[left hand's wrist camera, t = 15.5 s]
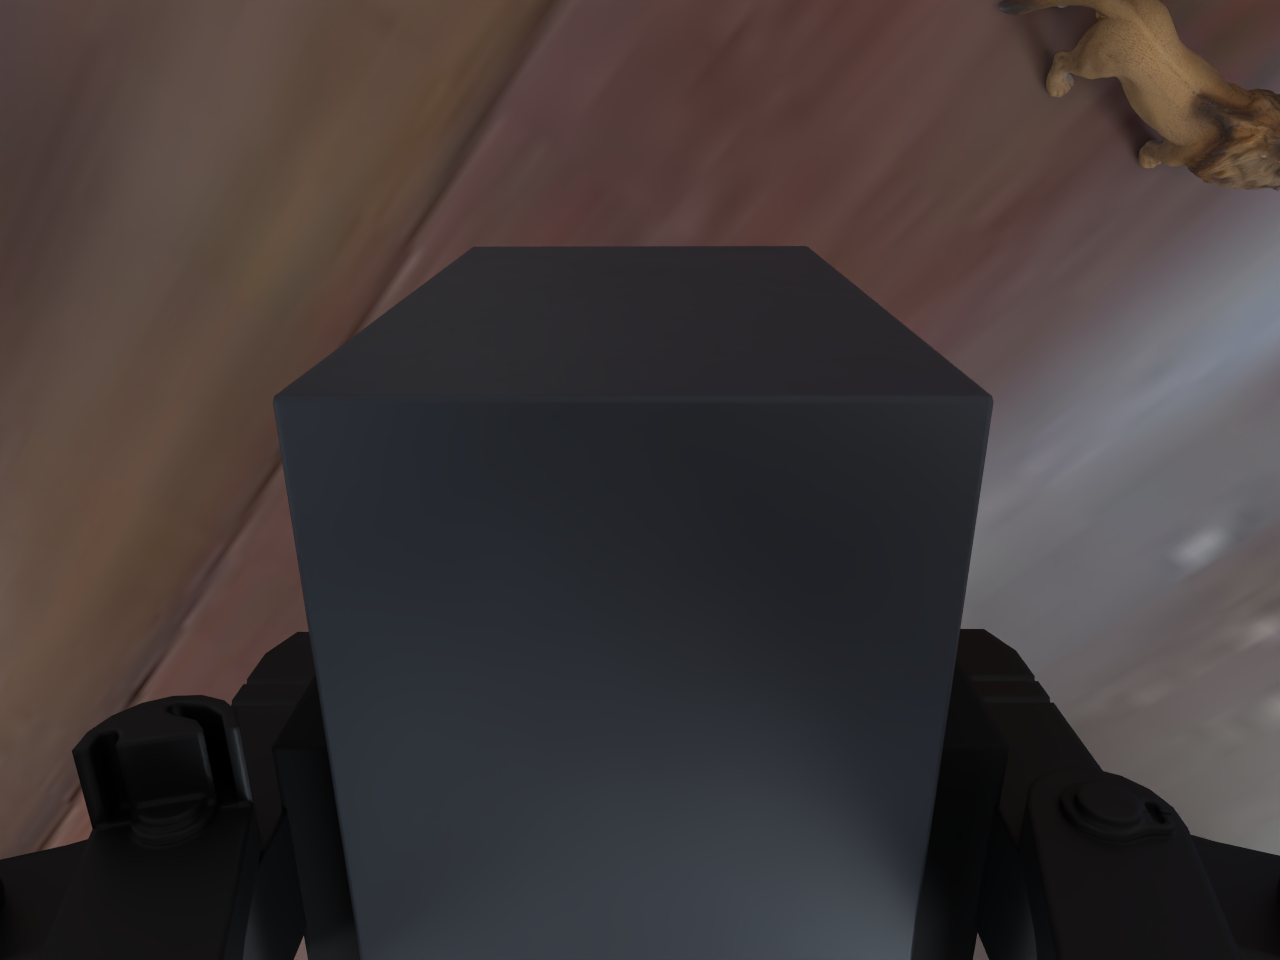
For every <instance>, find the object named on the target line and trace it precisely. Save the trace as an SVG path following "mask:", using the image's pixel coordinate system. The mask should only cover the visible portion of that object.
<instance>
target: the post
mask: <svg viewBox="0 0 1280 960" xmlns="http://www.w3.org/2000/svg"><path fill="white" fill-rule="evenodd" d="M273 405H274V412H275V418H276V425H277V431H278V437H279V444H280V450H281V456H282V463H283V469H284V476H285V482H286V488H287V495H288V501H289V507H290V514H291V520H292V527H293V533H294V539H295V546H296V552H297V558H298V565H299V571H300V578H301V584H302V590H303V597H304V603H305V609H306V616H307V622H308V629H309V635H310V641H311V648H312V654H313V661H314V667H315V673H316V680H317V686H318V692H319V699H320V705H321V712H322V718H323V724H324V731H325V737H326V743H327V750H328V756H329V763H330V769H331V775H332V782H333V788H334V794H335V801H336V807H337V814H338V820H339V826H340V833H341V839H342V845H343V852H344V858H345V865H346V871H347V877H348V884H349V890H350V896H351V903H352V909H353V916H354V922H355V928H356V935H357V941H358V947H359V954H360V960H912V955H913V948H914V941H915V934H916V927H917V920H918V914H919V907H920V900H921V893H922V886H923V879H924V873H925V866H926V859H927V852H928V845H929V838H930V832H931V825H932V818H933V811H934V804H935V797H936V791H937V784H938V777H939V770H940V763H941V756H942V750H943V743H944V736H945V729H946V722H947V715H948V709H949V702H950V695H951V688H952V681H953V674H954V668H955V661H956V654H957V647H958V640H959V633H960V627H961V620H962V613H963V606H964V599H965V592H966V586H967V579H968V572H969V565H970V558H971V551H972V545H973V538H974V531H975V524H976V517H977V510H978V504H979V497H980V490H981V483H982V476H983V469H984V463H985V456H986V449H987V442H988V435H989V428H990V422H991V415H992V408H993V398H992V396H991V395H990V394H989V393H987V392H986V391H985V390H984V389H982V388H981V387H980V386H979V385H978V384H976V383H975V382H974V381H973V380H971V379H970V378H969V377H968V376H966V375H965V374H964V373H963V372H962V371H960V370H959V369H958V368H957V367H955V366H954V365H953V364H952V363H950V362H949V361H948V360H947V359H945V358H944V357H943V356H942V355H941V354H939V353H938V352H937V351H936V350H934V349H933V348H932V347H931V346H929V345H928V344H927V343H926V342H925V341H923V340H922V339H921V338H920V337H918V336H917V335H916V334H915V333H913V332H912V331H911V330H910V329H908V328H907V327H906V326H905V325H904V324H902V323H901V322H900V321H899V320H897V319H896V318H895V317H894V316H892V315H891V314H890V313H889V312H888V311H886V310H885V309H884V308H883V307H881V306H880V305H879V304H878V303H876V302H875V301H874V300H873V299H871V298H870V297H869V296H868V295H867V294H865V293H864V292H863V291H862V290H860V289H859V288H858V287H857V286H855V285H854V284H853V283H852V282H851V281H849V280H848V279H847V278H846V277H844V276H843V275H842V274H841V273H839V272H838V271H837V270H836V269H834V268H833V267H832V266H831V265H830V264H828V263H827V262H826V261H825V260H823V259H822V258H821V257H820V256H818V255H817V254H816V253H815V252H814V251H812V250H811V249H810V248H809V247H806V246H688V247H473V248H471V249H470V250H469V251H467V252H466V253H465V254H463V255H462V256H461V257H459V258H458V259H457V260H455V261H454V262H453V263H451V264H450V265H449V266H447V267H446V268H445V269H443V270H442V271H441V272H439V273H438V274H437V275H435V276H434V277H433V278H431V279H430V280H429V281H427V282H426V283H425V284H423V285H422V286H421V287H419V288H418V289H417V290H415V291H414V292H413V293H411V294H410V295H409V296H407V297H406V298H405V299H403V300H402V301H401V302H399V303H398V304H397V305H395V306H394V307H393V308H391V309H390V310H389V311H387V312H386V313H385V314H383V315H382V316H381V317H379V318H378V319H377V320H375V321H374V322H373V323H371V324H370V325H369V326H367V327H366V328H365V329H363V330H362V331H361V332H359V333H358V334H357V335H355V336H354V337H353V338H351V339H350V340H349V341H347V342H346V343H345V344H343V345H342V346H341V347H339V348H338V349H337V350H335V351H334V352H333V353H331V354H330V355H329V356H327V357H326V358H325V359H323V360H322V361H321V362H319V363H318V364H317V365H315V366H314V367H313V368H311V369H310V370H309V371H307V372H306V373H305V374H303V375H302V376H301V377H299V378H298V379H297V380H295V381H294V382H293V383H291V384H290V385H289V386H287V387H286V388H285V389H283V390H282V391H281V392H279V393H278V394H277V395H275V396H274V400H273Z"/></svg>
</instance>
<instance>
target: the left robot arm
mask: <svg viewBox="0 0 1280 960" xmlns="http://www.w3.org/2000/svg"><path fill="white" fill-rule="evenodd" d="M72 753H73V757H74V761H75V764H76V768H77V772H78V776H79V779H80V783H81V787H82V791H83V794H84V798H85V802H86V806H87V809H88V813H89V817H90V821H91V824H92V828H93V829H92V832H91V834H90V837H89V839H87V840H83V841H80V842H76V843H73V844H69V845H66V846H61V847H57V848H52V849H48V850H43V851H38V852H34V853H29V854H25V855H20V856H16V857H11V858H6V859H2V860H0V960H294V957H295V955H296V953H297V950H298V948H299V945H300V943H301V941H302V938H303V936H304V938H305V944H306V950H307V956H308V960H360V954H359V947H358V941H357V935H356V928H355V922H354V916H353V909H352V903H351V896H350V890H349V884H348V877H347V871H346V865H345V858H344V852H343V845H342V839H341V833H340V826H339V820H338V814H337V807H336V801H335V794H334V788H333V782H332V775H331V769H330V763H329V756H328V750H327V743H326V737H325V731H324V724H323V718H322V712H321V705H320V699H319V692H318V686H317V680H316V673H315V667H314V661H313V654H312V648H311V641H310V635H309V632H297V633H295V634H294V635H292V636H291V637H289V638H288V639H286V640H285V641H283V642H282V643H281V644H279V645H278V646H276V647H275V648H273V649H272V650H270V651H269V652H267V653H266V654H265V655H264V656H263V658H262V659H261V661H260V662H259V663H258V665H257V666H256V668H255V669H254V670H253V672H252V673H251V675H250V676H249V677H248V679H247V684H243V686H242V687H241V689H240V690H239V691H238V693H237V694H236V695H235V697H234V698H233V700H232V705H231V706H230V705H229V704H228V703H227V702H225V701H224V700H220V699H216V698H212V697H208V696H204V695H189V696H171V697H167V698H162V699H158V700H153V701H149V702H145V703H141V704H139V705H136V706H134V707H132V708H129V709H127V710H124V711H122V712H120V713H117V714H115V715H112V716H111V717H109V718H108V719H106V720H105V721H103V722H102V723H100V724H99V725H97V726H96V727H94V728H93V729H91V730H90V731H88V732H87V733H86V734H85V736H84V737H83V738H82V739H81V741H80V742H79V743H78V744H77V745H76V747H75V748H74V749H73V750H72ZM977 932H978V934H979V936H980V939H981V941H982V944H983V946H984V948H985V951H986V953H987V955H988V958H989V960H1280V856H1279V855H1274V854H1269V853H1265V852H1260V851H1256V850H1251V849H1247V848H1242V847H1237V846H1233V845H1228V844H1224V843H1219V842H1215V841H1211V840H1208V839H1204V838H1201V837H1197V836H1194V835H1190V833H1189V830H1188V828H1187V826H1186V825H1185V824H1184V822H1183V821H1182V819H1181V818H1180V816H1179V815H1178V814H1177V812H1176V811H1175V809H1174V808H1173V807H1172V806H1171V805H1169V804H1168V803H1167V802H1165V801H1164V800H1163V799H1161V798H1160V797H1159V796H1158V795H1156V794H1155V793H1154V792H1152V791H1151V790H1150V789H1148V788H1146V787H1144V786H1141V785H1139V784H1137V783H1135V782H1133V781H1131V780H1129V779H1127V778H1125V777H1123V776H1120V775H1116V774H1112V773H1108V772H1104V771H1102V769H1101V768H1100V766H1099V765H1098V764H1097V762H1096V761H1095V759H1094V758H1093V757H1092V755H1091V754H1090V753H1089V751H1088V750H1087V748H1086V747H1085V746H1084V744H1083V743H1082V741H1081V740H1080V739H1079V737H1078V736H1077V735H1076V733H1075V732H1074V730H1073V729H1072V728H1071V726H1070V725H1069V723H1068V722H1067V721H1066V719H1065V718H1064V717H1063V715H1062V714H1061V712H1060V711H1059V710H1058V708H1057V707H1056V705H1055V704H1054V703H1050V697H1049V696H1048V694H1047V693H1046V692H1045V690H1044V689H1043V687H1042V686H1041V685H1040V683H1039V682H1038V681H1035V680H1034V675H1033V674H1032V672H1031V671H1030V669H1029V668H1028V667H1027V665H1026V664H1025V663H1024V661H1023V660H1022V658H1021V657H1020V656H1019V654H1018V653H1017V651H1016V650H1014V649H1013V648H1011V647H1010V646H1008V645H1007V644H1005V643H1004V642H1002V641H1001V640H999V639H998V638H996V637H995V636H993V635H992V634H990V633H989V632H987V631H986V630H985V629H960V633H959V640H958V647H957V654H956V661H955V668H954V674H953V681H952V688H951V695H950V702H949V709H948V715H947V722H946V729H945V736H944V743H943V750H942V756H941V763H940V770H939V777H938V784H937V791H936V797H935V804H934V811H933V818H932V825H931V832H930V838H929V845H928V852H927V859H926V866H925V873H924V879H923V886H922V893H921V900H920V907H919V914H918V920H917V927H916V934H915V941H914V948H913V955H912V960H973V955H974V949H975V943H976V937H977Z"/></svg>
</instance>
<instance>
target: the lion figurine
mask: <svg viewBox="0 0 1280 960" xmlns="http://www.w3.org/2000/svg"><path fill="white" fill-rule="evenodd" d="M1069 5H1073V6H1086V7H1090V8H1093V9H1095V10H1096V14H1095V15H1096V17H1097V22H1096V23H1095V24H1094V25H1093V26H1091V27H1090V28H1089V29H1088V30H1087V32H1086V33H1085V34H1084V35H1083V37H1082V38H1081V39H1080V40H1079V42H1078V43H1077V45H1076V46H1075V48H1074V49H1073V50H1071V51H1065V50H1060V51H1058V52H1057V53H1056V54H1055V56H1054V60H1053V64H1052V67H1051V69H1050V72H1049V73H1048V76H1047V80H1046V86H1047V91H1048V93H1049V94H1050V95H1051V96H1052V97H1062V96H1063V95H1065V94H1066V93H1068V91H1069V90H1070V89H1071V87H1072V86H1073V84H1074V80H1073V77H1072V76H1071V74H1070V73H1072V74H1075V75H1078V76H1081V77H1084V78H1088V79H1097V78H1102V77H1104V78H1108V77H1113V76H1116V77H1117V78H1118V79H1119V80H1120V82H1121V84H1122V87H1123V90H1124V92H1125V94H1126V96H1127V99H1128V101H1129V103H1130V105H1131V107H1132V108H1133V109H1134V111H1135V112H1136V113H1137V114H1138V115H1139V116H1140V118H1141V119H1142V120H1143V121H1145V122H1146V123H1147V124H1148V125H1149V126H1150V127H1152V128H1153V129H1154V130H1155V131H1156V132H1158V133H1159V134H1160V135H1161V136H1163V137H1164V138H1165V140H1164V142H1163V141H1159V140H1149V141H1147V142H1146V144H1145V145H1144V146H1143V147H1142V148H1141V149H1140V152H1139V163H1140V165H1141V166H1142V167H1143V168H1153V167H1155V166H1157V165H1159V164H1161V163H1164V164H1166V165H1169V166H1174V167H1175V166H1182V165H1186V166H1188V169H1189V170H1190V171H1191V172H1192V173H1194V174H1195V175H1196V176H1197V177H1199V178H1201V179H1202V180H1203V181H1204V182H1205V183H1217V184H1218V185H1220V186H1222V187H1233V188H1236V189H1238V188H1244V189H1249V190H1251V189H1252V190H1257V189H1264V188H1272V189H1275V190H1277V191H1280V94H1279V95H1278V94H1275V93H1273V92H1272V91H1269V90H1261V89H1255V90H1249V91H1247V90H1245V89H1242V88H1241V87H1239V86H1237V85H1235V84H1232V83H1227V82H1226V81H1225V80H1224V79H1223V77H1222V76H1221V75H1220V74H1219V73H1218V72H1217V70H1216V69H1215V68H1214V67H1212V66H1211V65H1210V64H1209V63H1208V62H1207V61H1205V60H1204V59H1203V58H1202V57H1200V56H1199V55H1197V54H1196V53H1194V52H1193V51H1191V50H1190V49H1188V48H1187V47H1186V46H1185V45H1184V44H1182V42H1181V41H1180V39H1179V38H1178V35H1177V33H1176V30H1175V27H1174V24H1173V21H1172V18H1171V16H1170V14H1169V11H1168V9H1167V8H1166V6H1165V5H1164V4H1163V3H1162V2H1160V1H1159V0H1025V1H1020V0H1002V1H1001V2H999V4H998V6H997V7H998V10H1001V11H1004V12H1005V13H1007V14H1013V15H1022V14H1026V13H1029V12H1033V11H1037V10H1041V9H1045V8H1049V7H1055V6H1058V7H1060V8H1064V7H1067V6H1069Z"/></svg>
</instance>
